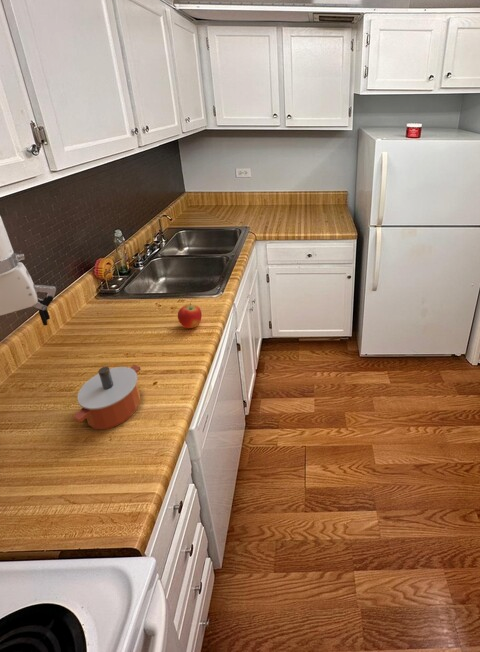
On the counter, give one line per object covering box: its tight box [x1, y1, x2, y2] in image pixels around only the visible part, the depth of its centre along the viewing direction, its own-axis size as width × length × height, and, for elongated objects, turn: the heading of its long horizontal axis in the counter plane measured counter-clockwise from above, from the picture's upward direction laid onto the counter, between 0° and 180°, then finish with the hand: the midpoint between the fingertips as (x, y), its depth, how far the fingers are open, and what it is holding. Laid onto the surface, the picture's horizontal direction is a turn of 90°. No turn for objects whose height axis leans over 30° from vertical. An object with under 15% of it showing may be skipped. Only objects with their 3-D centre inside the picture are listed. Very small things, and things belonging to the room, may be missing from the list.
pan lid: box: [77, 366, 139, 410], centre depth 86 cm, size 14×14×7 cm
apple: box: [177, 302, 203, 329], centre depth 121 cm, size 8×8×10 cm
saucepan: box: [72, 364, 142, 430], centre depth 89 cm, size 13×18×7 cm
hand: (19, 330), depth 77 cm, fingers open, 9 cm apart
